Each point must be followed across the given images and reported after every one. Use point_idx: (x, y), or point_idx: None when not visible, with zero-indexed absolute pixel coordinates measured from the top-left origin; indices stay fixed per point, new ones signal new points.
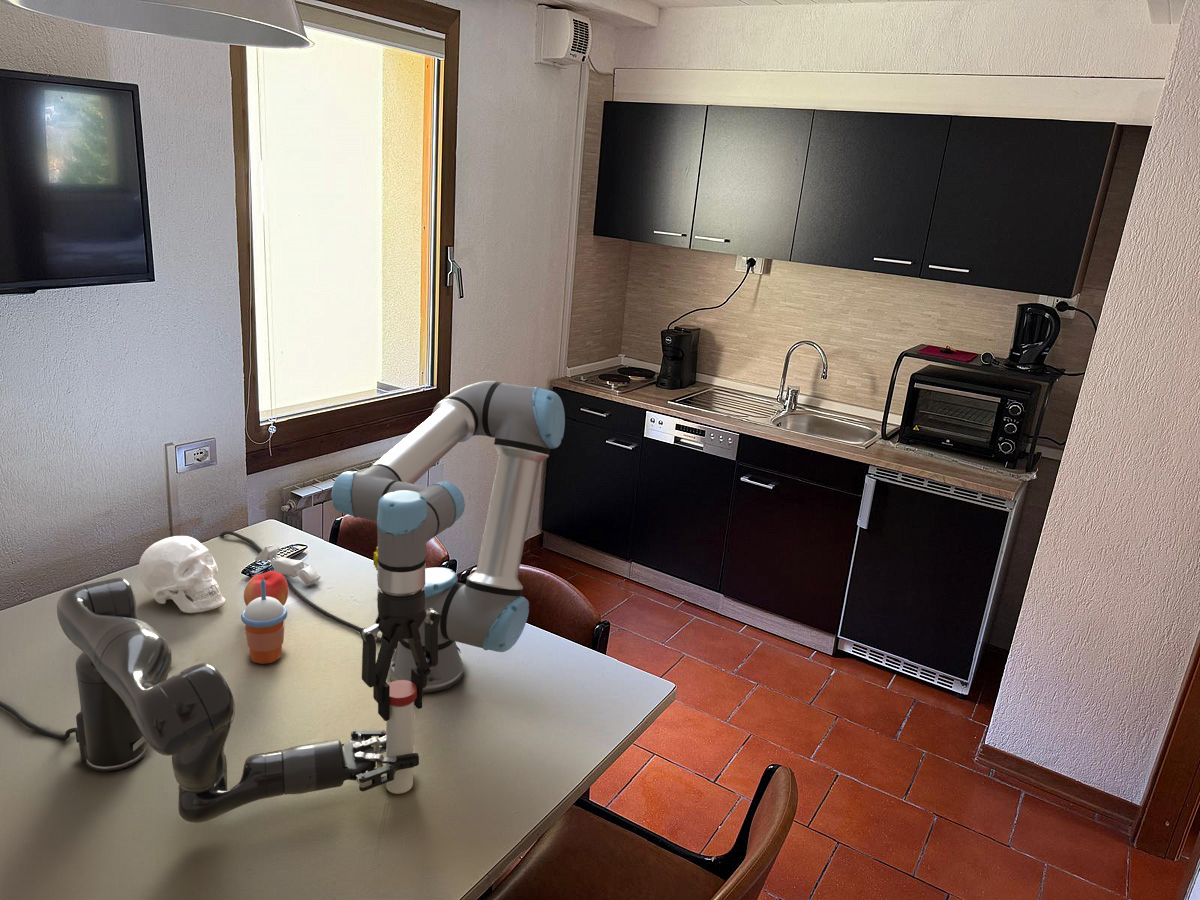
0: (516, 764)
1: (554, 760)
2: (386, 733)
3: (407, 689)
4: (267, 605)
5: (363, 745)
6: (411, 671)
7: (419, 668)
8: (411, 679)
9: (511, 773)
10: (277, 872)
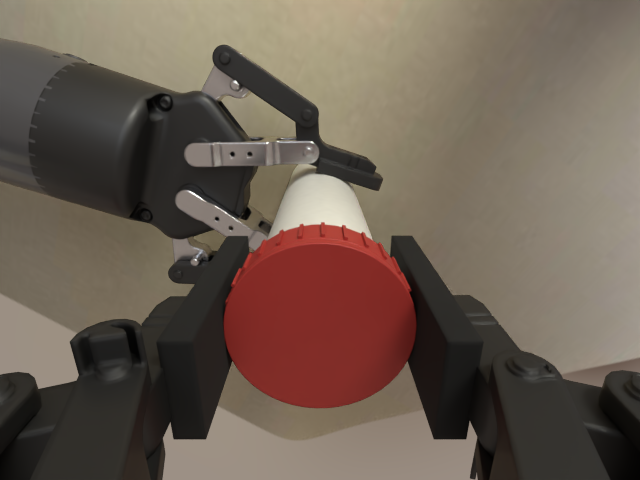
0: (562, 266)
1: (631, 298)
2: (275, 217)
3: (350, 356)
4: None
5: (217, 166)
6: (439, 334)
7: (482, 424)
8: (422, 298)
9: (532, 283)
10: (31, 272)
